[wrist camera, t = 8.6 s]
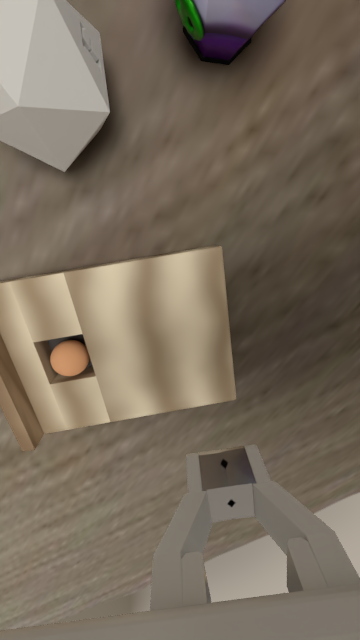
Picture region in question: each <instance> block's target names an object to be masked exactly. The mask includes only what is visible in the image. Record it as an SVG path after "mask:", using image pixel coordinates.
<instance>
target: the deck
mask: <svg viewBox="0 0 360 640" xmlns="http://www.w3.org/2000/svg"><path fill="white" fill-rule="evenodd" d="M67 340H76V341H79V342H81V343H83V344H84V345H85V346H86V347H87V349H88V353H89V356H90V359H89V363H88V365H87V367H86V368H85V369H84V370H83V371H82V372H81V373H79V374H77V375H74V376H63V375H60V374H59V373H57V372H56V371H55V370H54V369H53V367H52V365H51V362H50V357H51V353H52V351H53V349H54V348H55V347H56V346H57V345H58V344H59V343H61V342H63V341H67ZM231 400H236V391H235V380H234V370H233V359H232V349H231V338H230V328H229V317H228V306H227V296H226V285H225V275H224V264H223V254H222V246H216V245H215V246H209V247H203V248H197V249H191V250H185V251H179V252H173V253H167V254H161V255H155V256H149V257H143V258H137V259H131V260H125V261H119V262H113V263H107V264H101V265H95V266H89V267H83V268H78V269H72V270H66V271H60V272H54V273H48V274H42V275H36V276H30V277H24V278H18V279H12V280H6V281H0V406H1V408H2V410H3V412H4V415H5V417H6V419H7V421H8V423H9V425H10V427H11V429H12V431H13V433H14V435H15V437H16V439H17V441H18V443H19V445H20V447H21V449H22V451H29V450H35V448H36V447H37V445H38V443H39V442H40V440H41V438H42V437H43V435H44V434H46V433H52V432H57V431H63V430H69V429H74V428H80V427H85V426H91V425H97V424H102V423H108V422H113V421H119V420H125V419H130V418H136V417H142V416H147V415H153V414H158V413H164V412H170V411H175V410H181V409H186V408H192V407H198V406H203V405H209V404H214V403H220V402H226V401H231Z"/></svg>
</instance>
